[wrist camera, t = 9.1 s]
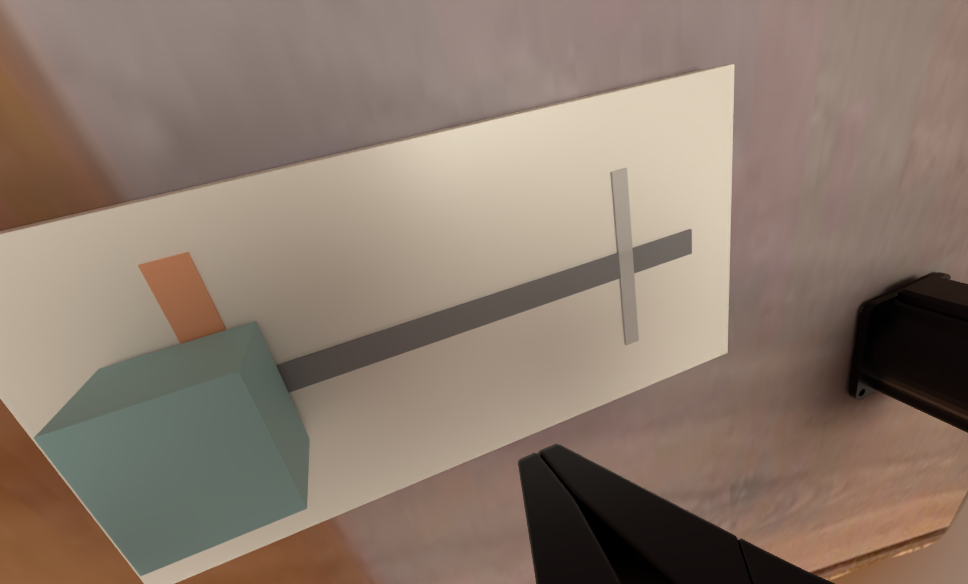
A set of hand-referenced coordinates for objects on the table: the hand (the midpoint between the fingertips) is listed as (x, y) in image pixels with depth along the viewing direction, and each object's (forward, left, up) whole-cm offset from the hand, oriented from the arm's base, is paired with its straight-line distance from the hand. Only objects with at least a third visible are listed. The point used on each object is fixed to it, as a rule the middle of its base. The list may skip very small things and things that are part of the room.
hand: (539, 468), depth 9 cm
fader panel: (0, 0, -9) cm, 9 cm away
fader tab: (0, +7, -7) cm, 10 cm away
